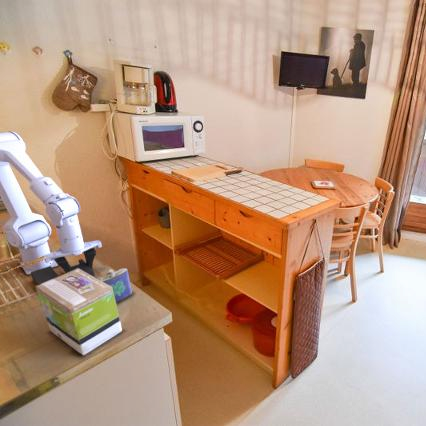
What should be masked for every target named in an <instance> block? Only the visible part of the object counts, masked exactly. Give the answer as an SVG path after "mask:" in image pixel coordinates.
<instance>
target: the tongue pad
mask: <svg viewBox="0 0 426 426" xmlns="http://www.w3.org/2000/svg"><path fill="white" fill-rule="evenodd" d="M30 276H31V278H32V282H33V284H35V286H38V285H40V284H42V283H45V282H47V281H49V280H52V279H54V278H56V277H59V276H60V275H58V273H57V272H56V271H55V269H54V267H51V266H49V267H46V268H43V269H39V270H36V271H33V272H31V274H30Z"/></svg>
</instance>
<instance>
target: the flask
mask: <svg viewBox="0 0 426 426" xmlns="http://www.w3.org/2000/svg"><path fill="white" fill-rule="evenodd" d="M129 276H130V275H129V271H128V269H127V268H126V267H125V268H124V267H122V268H120V269H118V270H116V271H115V270H113V269H112V268H110V269H108V272H107V273H106V275H103V276H101V277H100V276H98V277H97V279H98V280H100V281H102V282H104V283H106V284H107V285H109V286H111V287H112V288H113V292H114V297H115V301H116V305H117V304H119V303H121V302H122V301H125V300H126V299H128V298H129V297H131V296H132V294H133V290H132V285H131V282H130V281H131V279H130V277H129Z"/></svg>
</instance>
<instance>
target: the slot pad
mask: <svg viewBox="0 0 426 426" xmlns="http://www.w3.org/2000/svg"><path fill="white" fill-rule="evenodd" d="M68 265H69V270H70V271H73V270H75V269H77V268H79V269H81V270H82V271H84V272H86V273H88V274H90V275H91V276H93V277H95V278H96V276H95V273H94V270H93V268H92V269H91V268H90V267H89V266H88V265H87V264H86V260H84V259H83V258H81V259H78V264H74V265H72V266H71V265H70V264H69V263H68Z"/></svg>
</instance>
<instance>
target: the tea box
mask: <svg viewBox="0 0 426 426" xmlns="http://www.w3.org/2000/svg"><path fill="white" fill-rule="evenodd" d="M58 276H59V277H56V278H54V279H52V280H49V281H47V282H45V283H42V284H40V285H38V286H36V285H35V290H36V294H37V297H38V299H39V302H40V306H41V308H42V310H43V313H44V316H45V319H46V320H47V325H48V328H49V330H50V332H52V333H53V334H54V335H55V336H57V337H58V338H59V339H60V340H62V341H63V342H64V343H66V344H67V345H68V346H69V347H71V348H73V349H74V350H75V351H76V352H77V353H79V354H81V355H82V356H85V355H87V354H88V353H90V352H92V351H94V350H95V349H97V348H98V347H99V346H101V345H103V344H104V343H106V342H107V341H109V340H110V339H112V338H113V337H115V336H117V335H119V334H120V333H122V331H123V328H122V323H121V319H120V314H119V310H118V306H117V304H116V301H115V297H114V292H113V288H112V287H111V286H109V285H107V284H106V283H104V282H102V281H100V280H98V279H97V278H98V277H97V278H96V276H95V277H93V276H91V275H90V274H88V273H86V272H84V271H82V270H81V269H79V268H77V269H75V270H73V271H70V272H68V273H66V272H65V273H63V274H61V275H58Z"/></svg>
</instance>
